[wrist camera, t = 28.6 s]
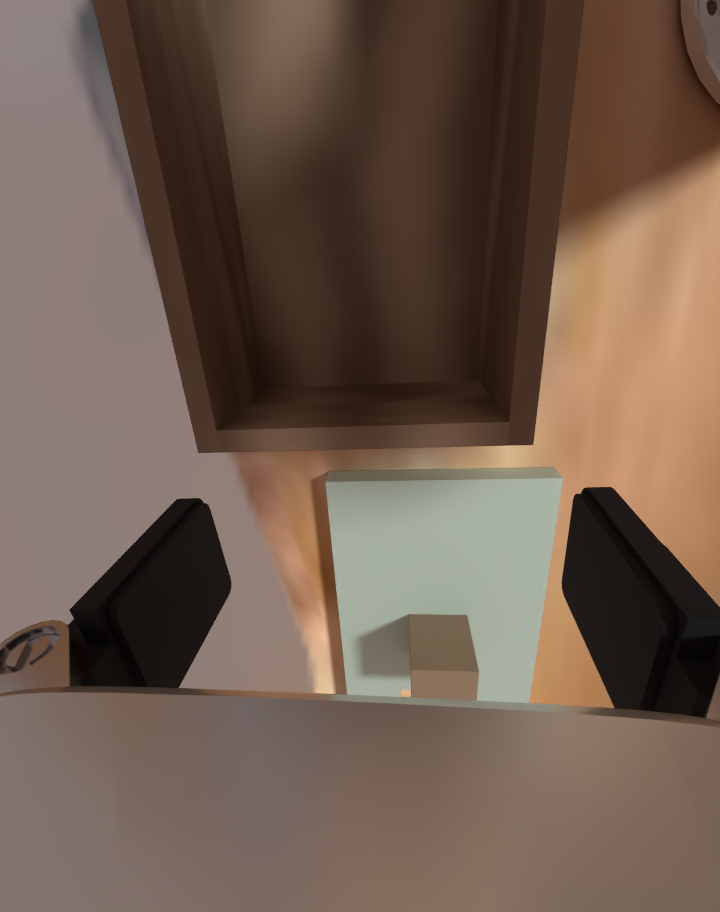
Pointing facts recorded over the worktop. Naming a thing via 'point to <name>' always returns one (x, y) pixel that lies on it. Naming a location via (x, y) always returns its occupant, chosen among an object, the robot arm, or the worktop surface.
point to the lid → (442, 578)
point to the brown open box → (350, 210)
